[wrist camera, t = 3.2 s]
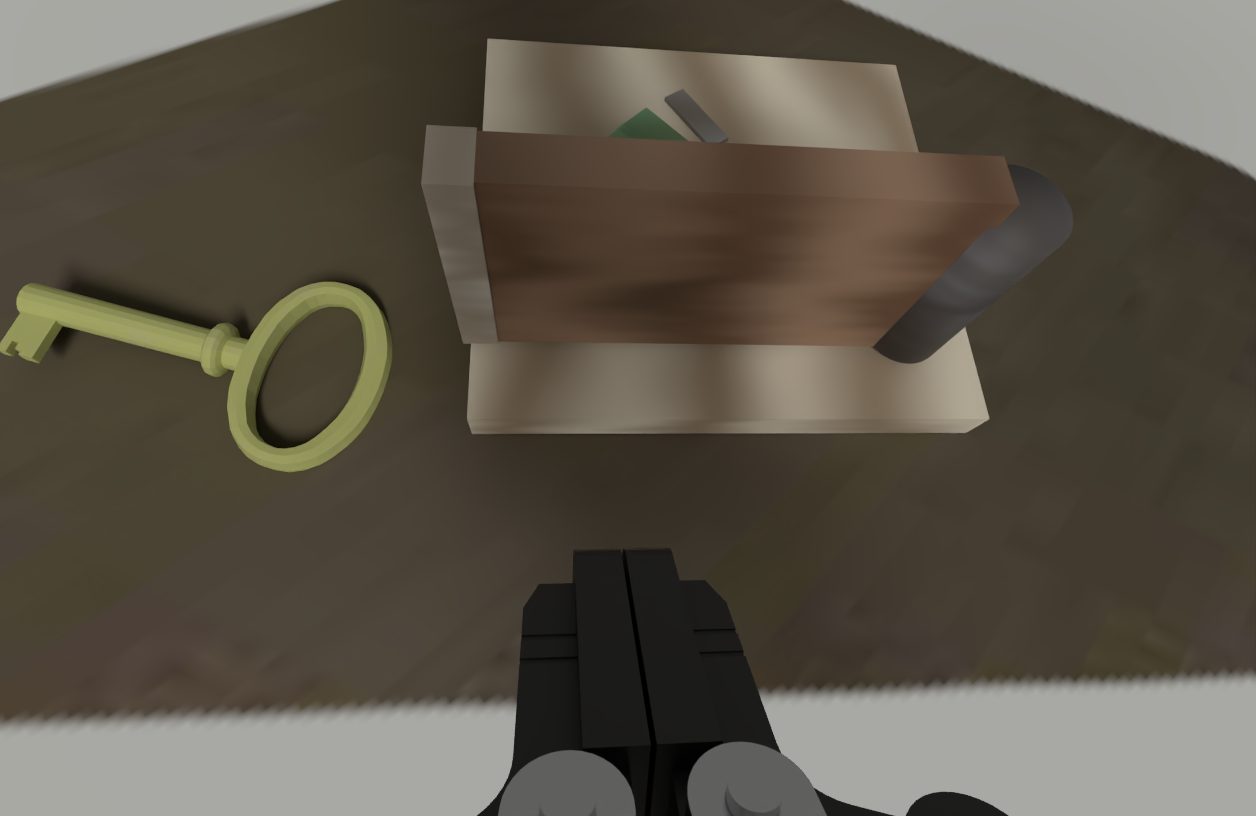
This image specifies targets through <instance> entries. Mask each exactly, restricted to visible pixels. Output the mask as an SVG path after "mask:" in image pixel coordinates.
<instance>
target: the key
mask: <svg viewBox="0 0 1256 816" xmlns="http://www.w3.org/2000/svg"><path fill="white" fill-rule="evenodd" d="M16 304H17V308H18V310H19V312H20V314H19V316H18V317H17V319H16V320H15V322H14V323H13V325H12V326H11V328H10V329H9V331H8V332H7V334H6V335H5V337H4V338H3V340H2V341H1V343H0V352H2V353H4V354H6V355H10V356H14V354H15V353H16V351H19V352H20V353H19V354H18V355H20V356H21V357H23V358H24V359H26V360H29V361H33V362H37V363H40V361H41V360H42V358H43V356H44V355H45V353H46V352H47V350H48V349H49V347H50V345H51V344H52V342H53V341H54V339H55V338H56V336H57V334H58V333H59V331H60V330H61V328H62V327H63V326H65V327H69V328H73V329H77V330H81V331H84V332H88V333H92V334H96V335H100V336H103V337H107V338H111V339H115V340H119V341H123V342H126V343H130V344H134V345H138V346H142V347H146V348H149V349H153V350H157V351H161V352H165V353H169V354H172V355H176V356H180V357H184V358H188V359H192V360H195V361H199V362H201V365H202V367H203V369H204V371H205V373H207V374H209V375H211V376H214V377H220V376H222V375H224V374H225V373H226V372H227V371H228V370H229V369H230V370H234V374H233V377H232V380H231V384H230V387H229V394H228V403H227V409H228V417H229V424H230V430H231V433H232V435H233V437H234V439H235V441H236V443H237V444H238V446H239V448H240V449H241V450H242V451H243V453H244V454H245V455H246V456H247V457H248V458H250V459H251V460H253V461H254V462H256V463H257V464H259V465H262V466H265V467H268V468H270V469H274V470H279V471H285V472H294V471H302V470H306V469H309V468H312V467H315V466H318V465H321V464H322V463H324V462H326V461H328V460H329V459H331V458H333V457H334V456H335V455H337V454H338V453H339V452H340V451H342V450H343V449H344V448H345V447H347V446H348V445H349V444H350V443H351V442H352V441H353V440H354V439H355V438H356V437H357V436H358V435H359V434H360V433H361V431H362V430H363V428H364V427H365V426H366V424H367V423H368V421H369V420H370V418H371V416H372V414H373V413H374V411H375V409H376V407H377V405H378V403H379V401H380V398H381V396H382V394H383V391H384V388H385V385H386V382H387V379H388V376H389V371H390V367H391V362H392V339H391V333H390V329H389V325H388V322H387V320H386V318H385V316H384V314H383V312H382V311H381V310H380V308H379V307H378V306H377V305H376V304H375V303H374V301H373V300H372V299H371V298H370V297H369V296H368V295H367V294H365V293H364V292H363V291H361V290H360V289H358V288H355V287H353V286H350V285H347V284H342V283H338V282H319V283H314V284H310V285H307V286H304V287H302V288H299V289H297V290H295V291H294V292H292V293H291V294H289V295H288V296H287V297H285V298H284V299H282V300H281V301H279V302H278V303H277V304H276V305H275V306H274V307H273V308H272V309H271V310H270V311H269V312H268V313H267V314H266V315H265V316H264V318H263V319H262V321H261V322H260V323H259V325H258V326H257V328H256V329H255V331H254V332H253V333H252V335H251V337H250V339H249V340H248V339H244V338H241V337H240V334H239V332H238V329H237V328H236V327H235V326H233V325H232V324H230V323H220V324H218V325H216V326H215V327H214V328H212V329H211V330H210V329H207V328H203V327H199V326H195V325H192V324H188V323H184V322H180V321H177V320H173V319H169V318H165V317H162V316H158V315H154V314H150V313H147V312H143V311H139V310H135V309H132V308H128V307H124V306H120V305H117V304H113V303H109V302H105V301H102V300H98V299H94V298H90V297H87V296H83V295H79V294H75V293H72V292H68V291H64V290H61V289H57V288H53V287H49V286H46V285H42V284H38V283H30V284H28V285H25V286H24V287H23V288H22V289H21V290H20V292H19V294H18V296H17V303H16ZM330 306H339V307H346V308H349V309H350V310H353V311H354V312H355V313H356V314H357V315H358V317H359V319H360V320H361V324H362V328H363V336H364V355H363V361H362V367H361V372H360V375H359V377H358V380H357V383H356V386H355V388H354V390H353V392H352V394H351V397H350V399H349V400H348V402H347V403H346V405H345V406H344V408H343V409H342V411H341V412H340V414H339V415H338V417H337V418H336V419H335V420H334V421H333V422H332V423H331V424H330V425H329V426H328V427H327V428H326V429H324V430H323V431H322V432H321V433H320V434H318V435H317V436H316V437H315V438H313V439H312V440H310V441H309V442H307V443H305V444H302V445H299V446H297V447H293V448H286V449H283V448H274V447H272V446H270V445H269V444H267V443H265V441H264V440H263V439H262V438H261V437H260V436H259V434H258V432H257V428H256V416H255V413H256V403H257V397H258V394H259V391H260V387H261V384H262V381H263V378H264V376H265V373H266V371H267V368H268V366H269V364H270V362H271V360H272V359H273V357H274V355H275V353H276V351H277V350H278V348H279V347H280V345H281V344H282V342H283V341H284V339H285V338H286V336H287V335H288V334H289V333H290V332H291V331H292V330H293V328H294V327H295V326H296V325H297V324H298V323H299V322H301V321H302V320H303V319H304V318H306V317H307V316H308V315H309V314H311V313H312V312H314V311H316V310H318V309H321V308H325V307H330Z"/></svg>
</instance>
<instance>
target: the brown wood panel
mask: <svg viewBox="0 0 1256 816" xmlns="http://www.w3.org/2000/svg"><path fill="white" fill-rule="evenodd" d="M421 185H422V189H423V193H424V197H425V200H426V204H427V208H428V212H429V216H430V219H431V223H432V227H433V231H434V235H435V238H436V242H437V246H438V250H439V254H440V257H441V261H442V265H443V269H444V273H445V276H446V280H447V284H448V288H449V291H450V295H451V299H452V303H453V307H454V310H455V314H456V318H457V322H458V326H459V329H460V333H461V337H462V341H463V344H498V342H499V341H504V342H578V343H652V344H725V345H799V346H873V347H874V348H875V349H876V350H877V351H878V352H879V353H881V354H882V355H883V356H885V357H887V358H888V359H891V360H893V361H896V362H899V363H905V364H914V363H919V362H922V361H924V360H926V359H928V358H929V357H930V356H932V355H933V354H934V353H935V352H936V351H937V350H939V349H940V348H941V347H942V346H943V345H945V344H946V343H947V342H948V341H949V340H950V339H952V338H953V337H954V336H955V335H956V334H957V333H959V332H960V331H961V330H962V329H963V328H964V327H966V326H967V325H968V324H969V323H970V322H972V321H973V320H974V319H975V318H976V317H977V316H979V315H980V314H981V313H982V312H983V311H984V310H986V309H987V308H988V307H989V306H990V305H991V304H993V303H994V302H995V301H996V300H997V299H999V298H1000V297H1001V296H1002V295H1003V294H1004V293H1006V292H1007V291H1008V290H1009V289H1010V288H1011V287H1013V286H1014V285H1015V284H1016V283H1017V282H1018V281H1020V280H1021V279H1022V278H1023V277H1024V276H1026V275H1027V274H1028V273H1029V272H1030V271H1031V270H1033V269H1034V268H1035V267H1036V266H1037V265H1038V264H1040V263H1041V262H1042V261H1043V260H1044V259H1045V258H1047V257H1048V256H1049V255H1050V254H1051V253H1053V252H1054V251H1055V250H1056V249H1057V248H1058V247H1060V246H1061V245H1062V244H1063V243H1064V242H1065V241H1066V240H1067V239H1068V238H1069V236H1070V234H1071V232H1072V229H1073V213H1072V210H1071V207H1070V205H1069V203H1068V201H1067V199H1066V197H1065V196H1064V195H1063V193H1062V192H1061V191H1060V190H1059V189H1058V188H1057V187H1056V186H1055V185H1054V184H1053V183H1052V182H1051V181H1050V180H1048V179H1047V178H1045V177H1044V176H1042V175H1041V174H1039V173H1037V172H1035V171H1033V170H1030V169H1028V168H1025V167H1021V166H1017V165H1007V163H1006V160H1005V157H1001V156H981V155H960V154H940V153H920V152H900V151H879V150H859V149H839V148H819V147H798V146H778V145H758V144H737V143H717V142H697V141H677V140H656V139H636V138H616V137H596V136H575V135H555V134H535V133H515V132H494V131H477V128H476V127H456V126H436V125H427V128H426V138H425V149H424V159H423V169H422V180H421Z"/></svg>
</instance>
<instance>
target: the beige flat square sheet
mask: <svg viewBox="0 0 1256 816" xmlns="http://www.w3.org/2000/svg"><path fill="white" fill-rule="evenodd" d="M483 131H494V132H515V133H535V134H555V135H575V136H596V137H616V138H636V139H656V140H677V141H697V142H717V143H737V144H758V145H778V146H798V147H819V148H839V149H859V150H879V151H900V152H918V148H917V144H916V140H915V137H914V133H913V129H912V125H911V122H910V118H909V114H908V110H907V107H906V103H905V99H904V95H903V92H902V88H901V84H900V80H899V76H898V73H897V69H896V65H885V64H869V63H854V62H839V61H823V60H808V59H793V58H777V57H762V56H747V55H731V54H716V53H700V52H685V51H670V50H654V49H639V48H624V47H608V46H593V45H578V44H562V43H547V42H532V41H516V40H501V39H488V42H487V60H486V79H485V97H484V116H483ZM467 420H468V423H469V426H470V430H471V433H472V434H670V433H967V432H968V431H970V430H972V429H973V428H975V427H977V426H978V425H980V424H982V423H983V422H985V421H987V420H989V415H988V412H987V408H986V404H985V400H984V397H983V393H982V389H981V385H980V382H979V378H978V374H977V370H976V366H975V363H974V359H973V355H972V351H971V348H970V344H969V340H968V336H967V333H966V329H965V327H964V328H963V329H962V330H961V331H960V332H959V333H957V334H956V335H955V336H954V337H953V338H952V339H950V340H949V341H948V342H947V343H946V344H945V345H943V346H942V347H941V348H940V349H939V350H937V351H936V352H935V353H934V354H933V355H932V356H930V357H929V358H928V359H926V360H924V361H922V362H919V363H914V364H905V363H899V362H896V361H893V360H891V359H888V358H887V357H885V356H883V355H882V354H881V353H879V352H878V351H877V350H876V349H875V348H874V347H873V346H799V345H725V344H652V343H578V342H504V341H499V342H498V344H471V354H470V373H469V391H468V410H467Z"/></svg>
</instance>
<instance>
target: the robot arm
mask: <svg viewBox="0 0 1256 816" xmlns="http://www.w3.org/2000/svg"><path fill="white" fill-rule="evenodd" d="M477 816H893V815H889V814H885V813H881V812H877V811H873V810H869V809H865V808H861V807H857V806H854V805H850V804H847V803H844V802H841V801H838V800H836V799H833V798H831V797H829V796H827V795H825V794H823V793H822V792H820V791H818V790H817V789H815V788H813V786H812V784H811V783H810V781H809V779H808V778H807V777H806V775H805V774H804V773H803V772H802V770H801V769H800V768H799V767H798V766H797V765H795V764H794V763H793V762H792V761H791V760H790V759H788V758H787V757H785V756H784V755H782V754H781V752H780V750H779V747H778V745H777V743H776V740H775V738H774V735H773V732H772V729H771V726H770V724H769V721H768V718H767V715H766V712H765V709H764V707H763V704H762V701H761V698H760V695H759V693H758V690H757V687H756V684H755V682H754V679H753V676H752V673H751V670H750V668H749V665H748V662H747V659H746V656H744V655H743V648H742V645H741V642H740V640H739V637H738V634H736V632H735V626H734V623H733V620H732V617H731V615H730V612H729V609H728V606H727V603H726V602H725V601H724V600H723V599H722V598H721V596H720V595H719V594H718V593H717V592H716V591H715V590H714V589H713V588H712V587H711V586H710V585H709V584H708V583H707V582H706V581H705V580H693V581H680V580H679V577H678V573H677V569H676V566H675V562H674V558H673V555H672V551H671V549H670V548H638V549H623V551H622V554H621V550H620V549H588V550H574V552H573V583H564V584H539V585H538V587H537V588H536V590H535V591H534V593H533V594H532V596H531V597H530V599H529V600H528V602H527V603H526V605H525V606H524V608H523V621H522V639H521V651H520V665H519V680H518V694H517V709H516V724H515V738H514V753H513V761H512V767H511V770H510V773H509V776H508V779H507V781H506V782H505V784H504V787H503V788H502V790H501V791H500V793H499V794H498V795H497V797H496V798H495V799H494V800H493V801H492V802H491V803H490V805H489V806H488V807H487V808H486V809H484V810H483V811H482V812H481V813H480V814H478V815H477ZM906 816H1008V815H1007V814H1005V813H1004V812H1002V811H1000V810H999V809H997V808H995V807H994V806H992V805H990V804H988V803H986V802H984V801H981V800H980V799H977V798H974V797H971V796H968V795H965V794H960V793H955V792H937V793H931V794H928V795H925V796H923V797H921V798H920V799H918V800H916V802H914V804H913V805H912V806H911V807H910V808H909V811H908V813H907V814H906Z"/></svg>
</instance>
